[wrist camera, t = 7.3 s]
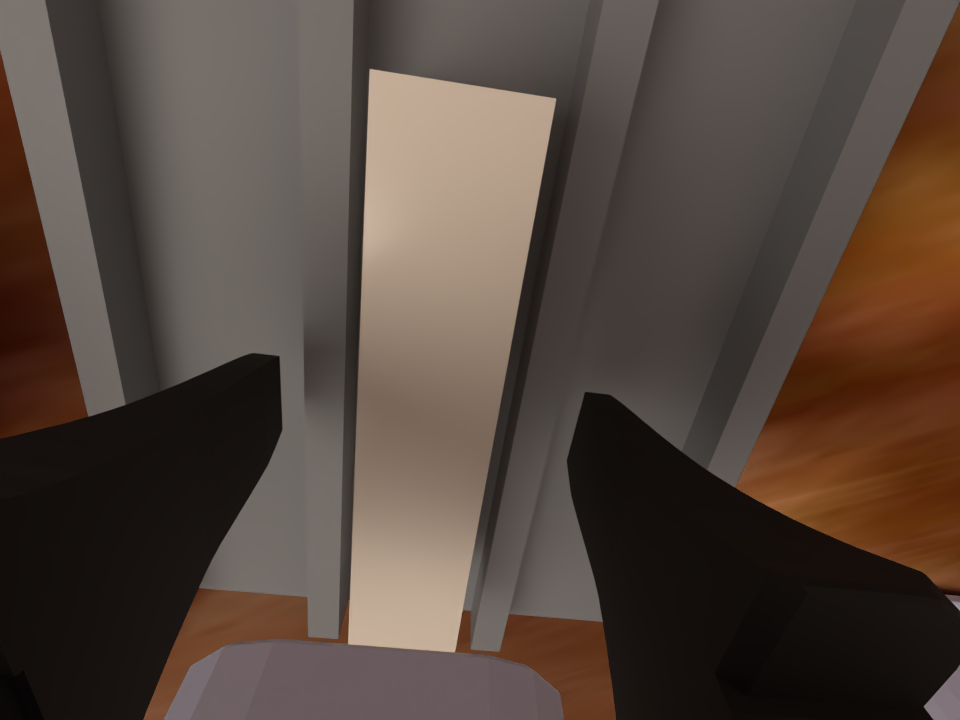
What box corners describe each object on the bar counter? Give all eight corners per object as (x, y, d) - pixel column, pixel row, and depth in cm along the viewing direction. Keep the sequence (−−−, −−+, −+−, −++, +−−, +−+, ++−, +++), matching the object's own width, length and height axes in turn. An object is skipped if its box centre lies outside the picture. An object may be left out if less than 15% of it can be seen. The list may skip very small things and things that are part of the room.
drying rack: (880, -2, 12) (987, -30, 9) (637, 598, 20) (660, 664, 18) (47, -153, 10) (-84, -233, 8) (173, 557, 19) (130, 622, 17)
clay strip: (411, 84, 11) (370, 69, 7) (523, 102, 11) (556, 98, 7) (379, 547, 17) (346, 700, 13) (452, 553, 17) (444, 707, 13)
